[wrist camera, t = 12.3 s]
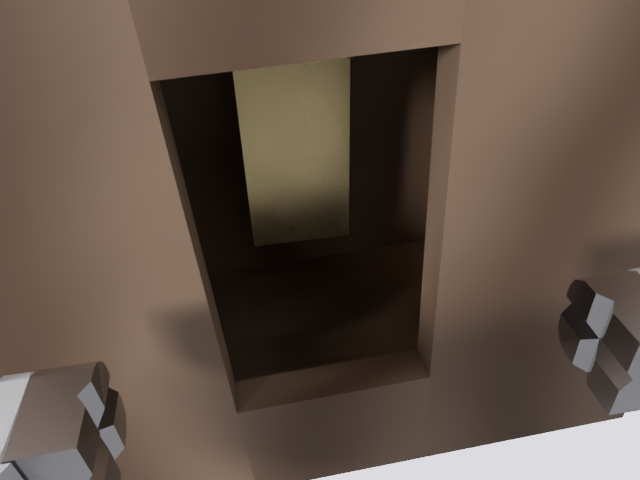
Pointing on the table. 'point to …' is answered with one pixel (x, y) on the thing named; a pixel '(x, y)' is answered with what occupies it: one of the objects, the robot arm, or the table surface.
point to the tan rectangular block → (296, 149)
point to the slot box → (324, 253)
